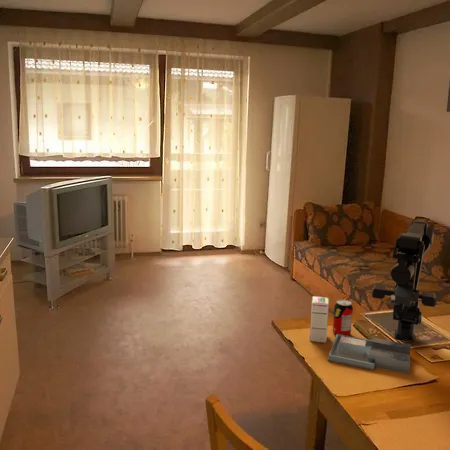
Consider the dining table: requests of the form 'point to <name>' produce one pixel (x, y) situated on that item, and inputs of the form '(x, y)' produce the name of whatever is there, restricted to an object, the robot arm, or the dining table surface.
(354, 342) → the grey cubic piece
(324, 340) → the syrup box
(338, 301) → the beverage can
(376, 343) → the slot plate
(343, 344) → the brushed metal cube
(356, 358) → the tray
